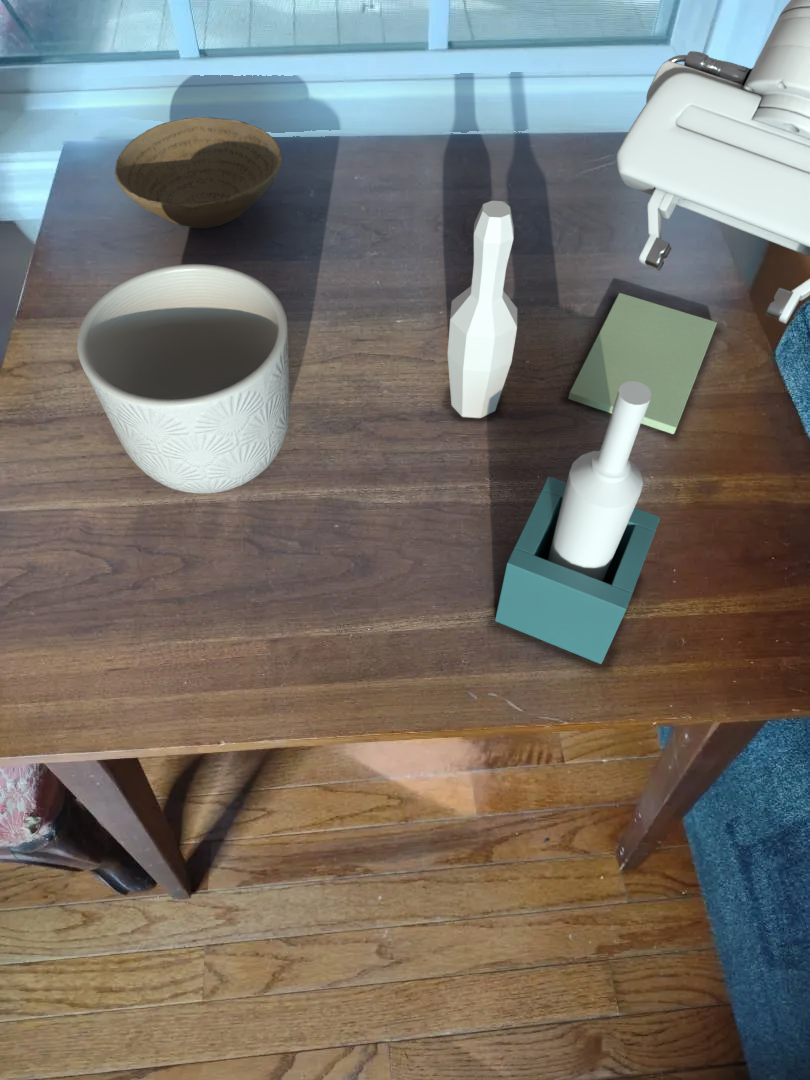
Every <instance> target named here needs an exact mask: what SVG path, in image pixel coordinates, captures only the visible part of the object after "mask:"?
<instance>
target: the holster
mask: <svg viewBox="0 0 810 1080" xmlns="http://www.w3.org/2000/svg"><path fill="white" fill-rule="evenodd" d="M566 484H567V482H565V481H562V480H559V479H557V478H554V477H553V476H548V477H547V479H546V481H545V483H544V485H543V487H542V489H541V491H540V493H539V495H538V497H537V500H536V502H535V504H534V505H533V508H532V510H531V511H530V514H529V515H528V518H527V520H526V523H525V525H524V527H523V528H522V531H521V532H520V534H519V537H518V539H517V541H516V544H515V545H514V548H513V550H512V552H511V553H510V556H509V558H508V560H507V562H506V567H505V571H504V576H503V580H502V586H501V590H500V595H499V599H498V604H497V609H496V614H495V618H494V622H496V623H499V624H502V625H503V626H506V627H509V628H511V629H514V630H517V631H518V632H521V633H523V634H526V635H528V636H531V637H532V638H535V639H538V640H541V641H543V642H545V643H548V644H550V645H552V646H555V647H558V648H559V649H562V650H565V651H568V652H570V653H572V654H575V655H578V656H580V657H582V658H585V659H587V660H589V661H591V662H594V663H596V664H598V665H602V664H603V662H604V660H605V657H606V655H607V653H608V651H609V649H610V647H611V644H612V642H613V640H614V638H615V636H616V633H617V631H618V629H619V627H620V625H621V622H622V620H623V618H624V616H625V614H626V612H627V609H628V606H629V604H630V601H631V598H632V596H633V593H634V590H635V588H636V586H637V582H638V580H639V577H640V575H641V571H642V569H643V566H644V563H645V561H646V558H647V555H648V552H649V551H650V548H651V544H652V542H653V540H654V539H653V538H654V536H655V534H656V531H657V528H658V525H659V523H660V520H661V516H659V515H657V514H654V513H651V512H648V511H646V510H644V509H643V510H642V509H640V508H638V507H635V508H634V510H633V512H632V515H631V517H630V519H629V521H628V524H627V526H626V528H625V531H624V533H623V535H622V538H621V540H620V542H619V544H618V547H617V549H616V551H615V554H614V556H613V558H612V561H611V563H610V565H609V567H608V570H607V572H606V574H605V577H604V579H603V581H599V580H597V579H594V578H592V577H589V576H586V575H584V574H581V573H579V572H576V571H573V570H571V569H568V568H566V567H563V566H560V565H558V564H555V563H553V562H550V561H548V558H549V554H550V549H551V545H552V541H553V537H554V533H555V529H556V525H557V521H558V517H559V513H560V509H561V505H562V501H563V497H564V492H565V488H566Z"/></svg>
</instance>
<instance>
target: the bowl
mask: <svg viewBox="0 0 810 1080" xmlns="http://www.w3.org/2000/svg"><path fill="white" fill-rule="evenodd" d="M282 163H283V154H282V149H281V147H280V145H279V143H278V142H277V140H276V138H274V137H273V136H272V135H270V134H269V133H268V132H266V131H265V130H263V129H262V128H260V127H258V126H256V125H253V124H250V123H247V122H244V121H240V120H237V119H228V118H227V119H226V118H221V117H220V118H219V117H211V116H210V117H209V116H207V117H206V116H200V117H185V118H182V119H177V120H172V121H168V122H163V123H160V124H158V125H154V126H153V127H151V128H149V129H147V130H145V131H143V133H141V134H139V135H138V136H136V137H135V138H133V139H132V140H131V141H130V142H128V143H127V145H125V147H124V148H123V150H122V151H121V152H120V153H119V154H118V157H117V159H116V162H115V166H114V167H115V169H114V176H115V179H116V182H117V184H118V186H119V187H120V189H121V190H122V191H123V192H124V194H125V195H126V196H127V197H128V198H130V199H131V200H132V201H133V202H134V203H135V204H137V205H138V206H140V207H141V208H143V209H144V210H146V211H148V212H150V213H151V214H154V215H156V216H159V217H160V218H162V219H165V220H167V221H168V222H170V223H172V224H175V225H178V226H183V227H189V228H197V229H201V228H202V229H204V228H206V229H208V228H215V227H219V226H222V225H225V224H227V223H229V222H232V221H233V220H235V219H237V218H239V217H241V216H242V215H243V214H244V213H245V212H246V211H247V210H248V209H249V208H250V207H251V206H253V204H255V203H256V202H257V201H258V200H259V199H260V198H261V197H262V196H263V195H264V194H265V193H266V192H267V191H268V190H269V188H270V187H271V185H272V184H273V183H274V181H275V180H276V178H277V176H278V174H279V172H280V170H281V167H282Z"/></svg>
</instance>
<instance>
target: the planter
mask: <svg viewBox="0 0 810 1080" xmlns="http://www.w3.org/2000/svg"><path fill="white" fill-rule="evenodd" d="M288 327H289V326H288V317H287V315H286V311H285V308H284V306H283V305H282V302H281V301H280V299H279V298H278V296H277V295H276V294H275V293H274V292H273V291H272V290H271V289H270V288H269V287H268V286H267V285H266V284H264V283H263V282H261V281H260V280H259V279H257V278H255V277H254V276H252V275H249V274H247V273H245V272H242V271H240V270H236V269H234V268H231V267H230V268H229V267H226V266H221V265H215V264H205V263H188V264H187V263H185V264H176V265H175V264H174V265H168V266H163V267H158V268H155V269H151V270H148V271H144V272H142V273H140V274H137V275H134V276H132V277H130V278H128V279H125V280H124V281H122V282H120V283H118V284H116V285H115V286H114V287H112V288H110V289H109V290H107V292H106V293H104V294H102V296H101V297H100V298H99V299H98V300H97V301H95V303H94V304H93V305H92V306H91V307H90V309H89V310H88V311H87V313H86V315H85V316H84V318H83V319H82V322H81V324H80V327H79V329H78V334H77V340H76V348H77V349H76V350H77V356H78V359H79V363H80V365H81V367H82V368H83V371H84V373H85V375H86V378H87V379H88V381H89V384H90V385H91V387H92V389H93V391H94V393H95V396H96V397H97V399H98V401H99V403H100V405H101V407H102V409H103V410H104V413H105V414H106V417H107V419H108V420H109V422H110V424H111V426H112V428H113V430H114V433H115V434H116V436H117V438H118V440H119V442H120V444H121V446H122V447H123V449H124V451H125V453H127V455H128V457H129V458H130V459H131V460H132V461H133V462H134V464H135V465H136V467H138V468H139V469H140V470H141V471H142V472H144V473H145V474H146V475H147V476H148V477H149V478H151V479H152V480H154V481H156V482H157V483H159V484H161V485H163V486H165V487H166V488H170V489H172V490H176V491H179V492H183V493H190V494H214V493H222V492H227V491H230V490H233V489H236V488H238V487H241V486H243V485H245V484H247V483H248V482H250V481H251V480H253V479H255V478H256V477H258V476H259V475H261V474H262V473H263V472H264V471H265V470H266V469H267V468H268V467H269V466H270V465H271V464H272V462H274V460H275V458H276V457H277V455H278V454H279V452H280V450H281V448H282V447H283V444H284V441H285V440H286V436H287V433H288V429H289V425H290V424H289V422H290V418H291V417H290V416H291V393H290V392H291V391H290V390H291V389H290V387H291V386H290V360H289V359H290V358H289V357H290V356H289V355H290V354H289V328H288Z"/></svg>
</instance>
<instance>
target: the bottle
mask: <svg viewBox="0 0 810 1080" xmlns="http://www.w3.org/2000/svg"><path fill="white" fill-rule="evenodd" d="M651 396H652V395H651V391H650V389H649V388H648V387H647V386H646V385H644V384H642V383H640V382H636V381H629V382H626V383H623V384H622V385H621V386H620V388H619V390H618V394H617V397H616V400H615V403H614V406H613V410H612V413H611V415H610V418H609V421H608V426H607V428H606V431H605V434H604V437H603V441H602V444H601V447H600V450H592V451H590V452H586V453H584V454H581V455H579V457H578V458H576V460H574V461H573V462H572V464H571V467H570V470H569V473H568V477H567V481H566V483H567V484H566V488H565V492H564V497H563V501H562V505H561V509H560V513H559V517H558V521H557V525H556V529H555V533H554V537H553V541H552V545H551V549H550V554H549V558H548V560H547V561H550V562H553V563H555V564H558V565H560V566H563V567H566V568H568V569H571V570H573V571H576V572H579V573H581V574H584V575H586V576H589V577H592V578H594V579H597V580H599V581H602V582H604V581H603V579H604V577H605V574H606V572H607V570H608V567H609V565H610V563H611V561H612V558H613V556H614V554H615V551H616V549H617V547H618V544H619V542H620V540H621V538H622V535H623V533H624V531H625V528H626V526H627V524H628V521H629V519H630V517H631V515H632V512H633V510H634V508H636V506H637V503H638V500H639V498H640V496H641V493H642V490H643V487H644V481H643V477H642V473H641V471H640V470H639V469H638V467H637V466H636V465H635V463H634V462H632V461H631V460H630V459H629V458H630V456H631V453H632V450H633V447H634V444H635V441H636V438H637V436H638V432H639V429H640V427H641V425H642V424H641V421H643V418H644V416H645V413H646V410H647V407H648V404H649V402H650V399H651Z"/></svg>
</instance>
